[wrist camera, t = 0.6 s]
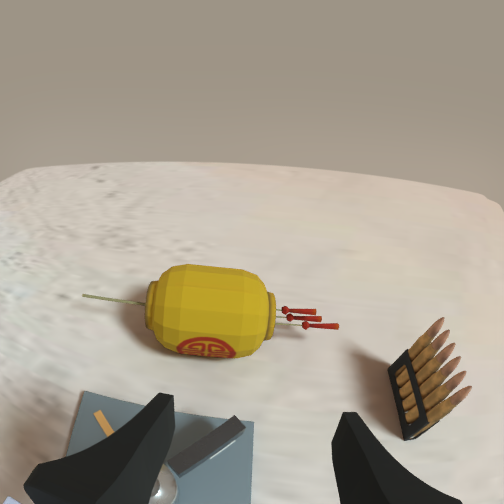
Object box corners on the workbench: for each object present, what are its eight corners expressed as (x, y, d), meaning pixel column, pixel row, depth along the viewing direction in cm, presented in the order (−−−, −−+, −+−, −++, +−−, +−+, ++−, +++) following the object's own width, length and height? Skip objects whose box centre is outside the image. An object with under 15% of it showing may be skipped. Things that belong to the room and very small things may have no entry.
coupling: (147, 523, 19) (137, 523, 15) (114, 481, 21) (100, 472, 18) (251, 453, 26) (261, 439, 23) (217, 418, 29) (221, 398, 25)
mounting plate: (244, 581, 16) (247, 584, 15) (54, 541, 15) (48, 541, 14) (252, 425, 30) (254, 421, 29) (87, 395, 29) (84, 389, 28)
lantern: (347, 262, 36) (83, 235, 32) (360, 342, 30) (56, 314, 26) (318, 303, 44) (101, 281, 40) (324, 370, 38) (85, 349, 34)
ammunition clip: (387, 368, 38) (434, 310, 30) (398, 368, 38) (446, 311, 30) (404, 441, 30) (468, 395, 22) (415, 438, 30) (480, 393, 22)
